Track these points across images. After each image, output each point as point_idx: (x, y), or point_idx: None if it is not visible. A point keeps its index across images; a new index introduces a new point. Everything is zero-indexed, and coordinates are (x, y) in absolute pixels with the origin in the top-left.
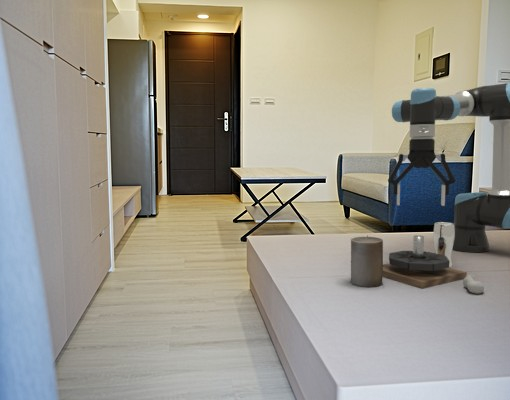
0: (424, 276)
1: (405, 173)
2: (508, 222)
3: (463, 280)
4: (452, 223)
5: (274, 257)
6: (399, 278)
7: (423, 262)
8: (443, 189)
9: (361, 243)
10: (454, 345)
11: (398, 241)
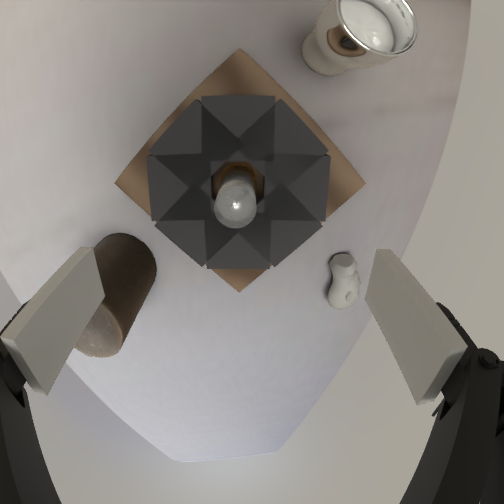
0: None
1: (46, 493)
2: None
3: (331, 270)
4: (412, 15)
5: None
6: None
7: (246, 255)
8: (409, 377)
9: (85, 352)
10: (252, 431)
11: None
